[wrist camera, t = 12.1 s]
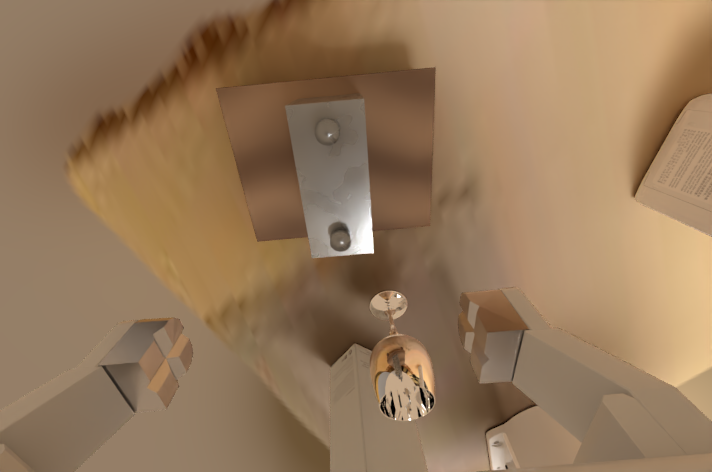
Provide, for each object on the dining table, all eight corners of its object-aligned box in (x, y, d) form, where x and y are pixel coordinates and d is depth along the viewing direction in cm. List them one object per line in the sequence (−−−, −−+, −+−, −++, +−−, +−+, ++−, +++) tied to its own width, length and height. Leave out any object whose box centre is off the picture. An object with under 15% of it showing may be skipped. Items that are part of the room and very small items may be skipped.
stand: (420, 207, 30) (430, 225, 26) (267, 221, 30) (257, 241, 26) (422, 68, 24) (435, 67, 21) (234, 86, 24) (215, 88, 21)
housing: (360, 93, 21) (365, 99, 16) (368, 222, 26) (374, 258, 21) (297, 99, 21) (282, 107, 16) (317, 226, 26) (310, 264, 21)
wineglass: (420, 291, 35) (453, 386, 24) (403, 327, 37) (427, 428, 27) (371, 281, 34) (384, 375, 23) (358, 319, 36) (363, 420, 26)
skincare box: (329, 366, 40) (322, 508, 27) (356, 339, 38) (362, 479, 25) (379, 389, 43) (394, 529, 30) (407, 364, 40) (437, 504, 27)
